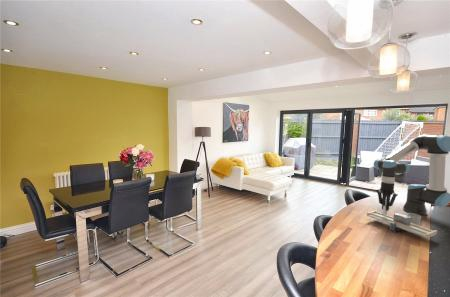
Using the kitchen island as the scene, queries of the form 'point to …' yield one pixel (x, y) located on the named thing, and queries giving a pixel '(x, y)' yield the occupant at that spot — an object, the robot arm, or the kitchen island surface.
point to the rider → (402, 219)
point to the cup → (414, 218)
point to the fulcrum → (394, 227)
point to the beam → (411, 227)
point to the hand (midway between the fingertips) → (384, 214)
